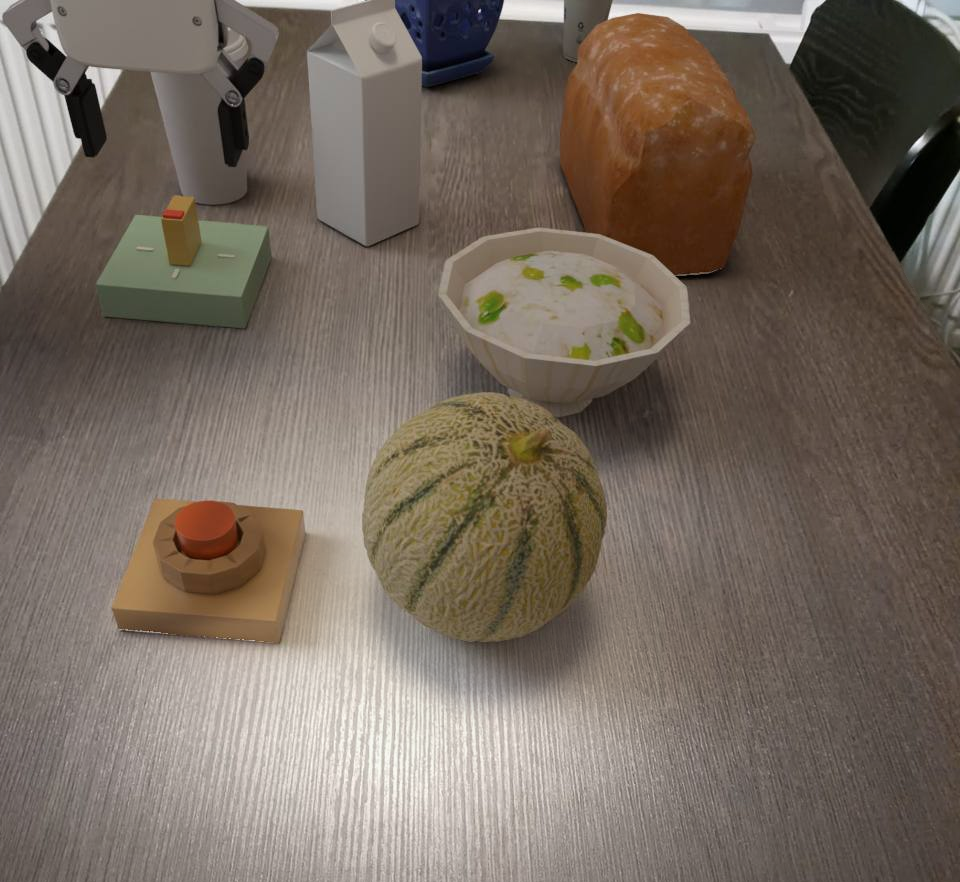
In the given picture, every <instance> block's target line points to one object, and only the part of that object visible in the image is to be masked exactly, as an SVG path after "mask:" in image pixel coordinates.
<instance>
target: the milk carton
mask: <svg viewBox="0 0 960 882" xmlns="http://www.w3.org/2000/svg"><path fill="white" fill-rule="evenodd" d="M306 56H307V58H306V59H307V74H308V77H307V78H308V90H309V103H310V104H309V105H310V106H309V107H310V120H311V121H310V123H311V138H312V139H311V140H312V156H313V170H314V171H313V172H314V187H315V189H314V190H315V202H316V203H315V204H316V218H317V220H319V221H321V222H322V223H324V224H326V225H327V226H329V227H332V228H333V229H335V230H336V231H338V232H340V233H341V234H343V235H345V236H347V237H349V238H351V239H352V240H354V241H355V242H358V243H359V244H361V245H362V246H364V247H370V246H372V245H375V244H377V243H379V242H381V241H383V240H386V239H389V238H390V237H393V236H396V235H397V234H400V233H402V232H404V231H407V230H408V229H411V228H413V227H415V226H418V225H419V221H420V189H421V188H420V185H421V184H420V181H421V180H420V179H421V138H422V137H421V133H422V131H421V130H422V129H421V128H422V88H423V85H422V57H421V55H420V53H419V51H418V49H417V47H416V45H415V44H414V42H413V40H412V38H411V36H410V34H409V33H408V31H407V29H406V27H405V25H404V23H403V22H402V20H401V18H400V16H399V14H398V12H397V11H396V9H395V0H366V1H365V0H362V1H359V2H356V3H352V4H347V5H344V6H340V7H336V8H332V9H330V25H329V27H327V29H326V30H325V31H324V32H323V33H322V34H321V35H320V37H318V39H316V41H315V42H314V43H313V44H312V45H311V46H310V47H309V48H308V50H306Z"/></svg>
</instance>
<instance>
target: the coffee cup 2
mask: <svg viewBox="0 0 960 882" xmlns="http://www.w3.org/2000/svg"><path fill="white" fill-rule="evenodd" d="M613 1H614V0H563V35H562V37H563V39H562V42H563V43H562V56H563V55H564V57H565V58H567V59H570V60H573V61H577V60H578V47H579V46H580V45H581V43H582V42H583V41H584V40H585V39H586V37H587V36H588V35H589V34H590V32H591V31H592V30H593V29H594V27H595V26H596V25H598V24H600V23H602V22H605V21H607V20H609V17H610V13H611V9H612V4H613ZM564 57H563V58H564ZM565 58H564V59H565Z"/></svg>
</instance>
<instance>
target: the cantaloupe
mask: <svg viewBox="0 0 960 882" xmlns="http://www.w3.org/2000/svg"><path fill="white" fill-rule="evenodd" d="M603 486H604V485H603V484H602V482H601V480H600V477H599V472H598V469H597V466H596V464H595V461H594V459H593V457H592V456H591V453H590V451H589V449H588V447H587V446H586V445H585V444H584V442H582V440H581V439H580V437H579V435H578V434H577V433H576V432H574V430H572V429H570V428H569V427H568V426H566V425H565V424H564V423H562V422H561V421H560V420H559V419H558V417H556V416H553V415H552V414H551V413H550V412H549V411H548V410H546V409H544V408H543V407H541V406H539V405H536V404H534V403H531V402H529V401H527V400H525V399H520V398H516V397H513V396H511V395H506V394H504V393H499V392H494V391H493V392H492V391H491V392H490V391H488V392H483V391H482V392H481V391H480V392H474V393H466V394H461V395H457V396H451V397H449V398H447V399H444V400H442V401H439V402H437V403H436V404H433V405H432V406H431V407H430V408H429V409H426V410H425V411H422V412H420V413H418V414H417V415H415V416H413V417H411V418H409V419H408V420H406V421H405V422H403V423H402V424H401V425H400V426H399V427H398V428H396V429H395V431H394V433H393V434H392V435H391V436H390V437H389V438H387V439H386V440H385V441H384V443H383V444H382V446H381V448H380V449H379V451H378V453H377V454H376V457H375V458H374V459H373V461H372V464H371V465H370V469H369V472H368V473H367V478H366V483H365V487H364V488H365V489H364V496H363V498H364V500H363V501H364V502H363V510H362V514H361V525H362V526H361V531H362V534H363V545H364V548H365V550H366V556H367V558H368V561H369V563H370V566H371V567H372V569H373V570H374V572H375V574H376V576H377V578H378V580H379V582H380V585H381V588H383V590H384V592H385V593H386V594H387V596H388V598H389V599H391V600H392V601H393V602H394V603H395V604H396V605H397V606H398V607H399V608H400V609H401V610H402V611H404V612H406V613H408V614H409V615H411V616H412V617H413V618H414V619H415V620H416V621H418V622H419V623H420V624H422V625H423V626H424V627H426V628H428V629H430V630H431V631H434V632H435V633H437V634H440V635H442V636H444V637H447V638H450V639H453V640H461V641H465V642H469V643H470V642H475V641H476V642H479V643H488V642H497V643H498V642H503V641H509V640H512V639H513V640H514V639H517V638H521V637H524V636H526V635H528V634H530V633H534V632H535V631H538V630H539V629H540V628H542V627H543V626H544V625H546V624H547V623H548V622H550V621H551V620H553V619H554V618H555V617H556V616H559V615H560V614H562V613H563V612H564V611H565V610H566V609H567V608H569V607H570V606H571V605H572V604H573V602H574V601H575V600H576V599H577V598H578V597H579V596H580V594H581V593H582V592H583V590H584V589H585V588H586V586H587V585H588V583H589V582H590V580H591V578H592V577H593V575H594V573H595V571H596V568H597V565H598V561H599V557H600V552H601V547H602V544H603V543H602V542H603V538H604V536H605V535H606V527H607V519H608V507H607V504H608V503H607V498H606V494H605V490H604V487H603Z"/></svg>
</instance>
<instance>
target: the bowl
mask: <svg viewBox="0 0 960 882" xmlns="http://www.w3.org/2000/svg"><path fill="white" fill-rule="evenodd" d="M443 266H444V267H443V271H442V274H441V280H440V283H439V288H438V293H437V296H438V298H439V300H440V303H441V304H442V306H443V308H444V310H445V312H446V314H447V316H448V318H449V321H450V322H451V324H452V326H453V329H454V331H455V332H456V333H457V335H458V336H459V337H460V338H461V340H462V341H463V342H464V343H465V344H466V346H467V348H468V350H469V351H470V352H471V353H472V354H473V355H474V357H475V358H476V360H477V361H478V362H479V363H480V364H481V365H482V366H483V367H484V368H485V369H486V370H487V371H488V373H489V374H490V375H491V376H492V377H493V378H494V379H495V380H496V381H497V382H498V383H499V384H500V385H501V386H504V387H506V388H507V393H508V394H509V396H513V397H516V398H520V399H525V400H527V401H529V402H531V403H534V404H536V405H539V406H541V407H543V408H544V409H546V410H548V411H549V412H550V413H551V414H552V415H553V416H554V417H555V418H562V417H567V416H571V415H575V414H578V413H581V412H583V410H585V409H586V408H587V407H588V406H589V405H590V404H591V403H593V399H598V398H600V397H605V396H608V395H609V394H611V393H612V392H614V391H616V390H618V389H619V388H621V387H623V386H625V385H626V384H629V383H630V382H632V381H633V380H636V379H637V378H638V377H639V376H640V375H641V374H642V373H643V372H644V371H645V370H646V369H648V368H649V366H651V365H652V364H653V363H654V362H655V361H656V360H657V359H658V358H660V357H661V355H663V354H664V352H665V351H667V349H668V348H669V347H670V346H671V345H672V344H673V343H674V342H675V340H676V339H678V337H679V336H680V335H681V334H682V333H683V332H684V331H685V330H686V329H687V327H688V326H689V325H690V324H691V316H690V315H691V314H690V304H689V291H688V287H687V285H685V284H684V282H682V281H681V280H680V279H679V277H676V276H675V275H673V274H672V273H671V272H670V271H669V270H668V269H667V268H666V267H665V266H664V265H663V264H662V263H661V262H660V261H659V260H658V259H657V258H655V257H654V256H653V255H651V254H648V253H646V252H643V251H641V250H638V249H636V248H633V247H631V246H628V245H626V244H623V243H621V242H618V241H616V240H613V239H610V238H608V237H605V236H603V235H600V234H593V233H585V231H575V230H565V229H555V228H547V227H540V226H539V227H538V226H537V227H534V228H527V229H526V228H525V229H521V230H520V229H519V230H514V231H510V232H509V231H508V232H502V233H495V234H489V235H485V236H482V237H480V238H478V239H477V240H475V241H473V242H472V243H470V244H469V245H468V246H466V247H464V248H463V249H461V250H460V251H458V252H456V253H455V254H453V255H452V256H449V258H447V259H445V262H444V265H443Z"/></svg>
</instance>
